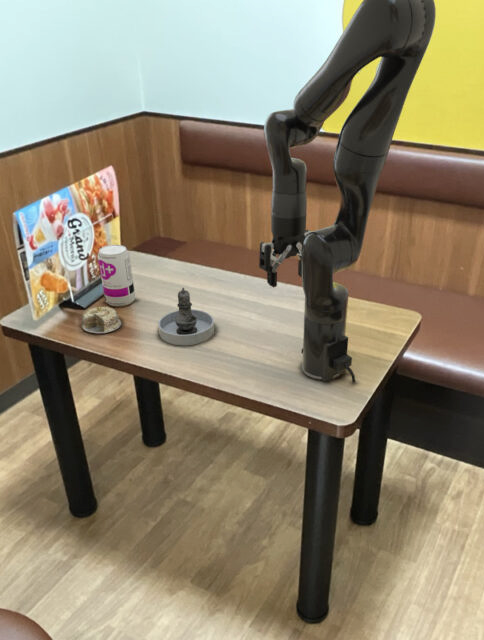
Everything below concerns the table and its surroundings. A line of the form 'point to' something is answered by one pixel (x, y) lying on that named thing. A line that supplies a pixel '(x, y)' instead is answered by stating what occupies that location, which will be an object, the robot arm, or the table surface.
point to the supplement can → (116, 275)
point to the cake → (100, 320)
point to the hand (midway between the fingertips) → (287, 281)
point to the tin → (170, 335)
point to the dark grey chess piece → (185, 315)
